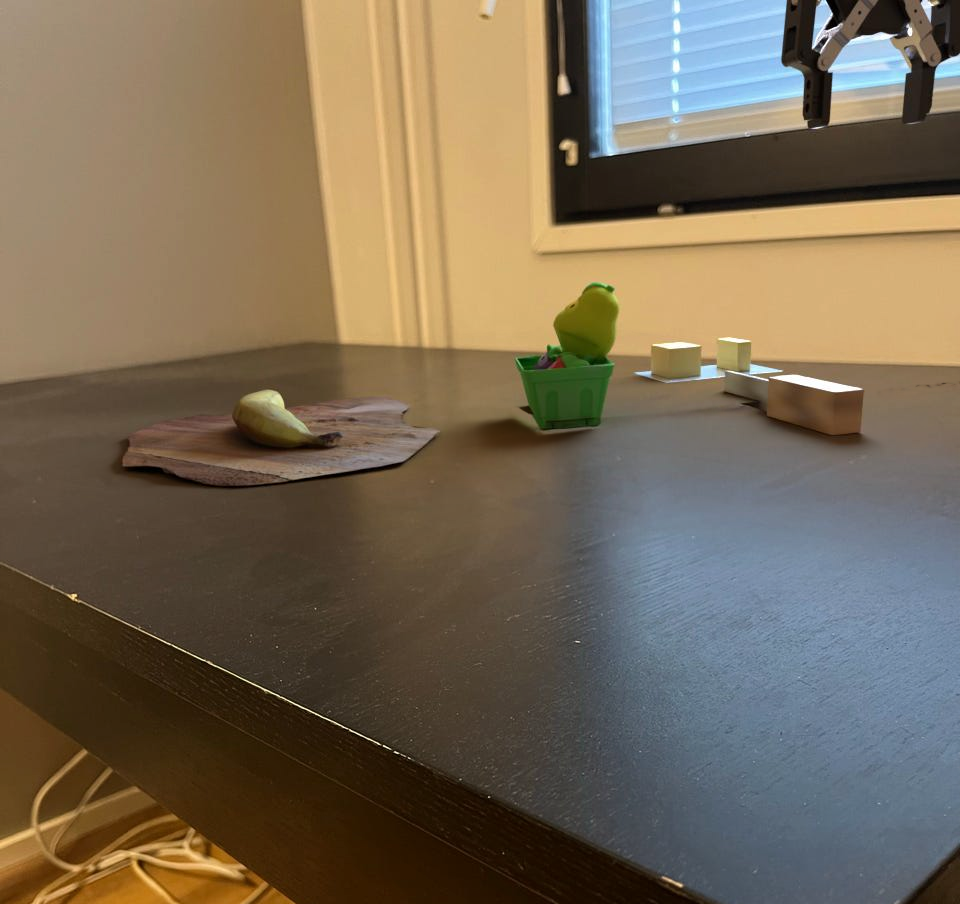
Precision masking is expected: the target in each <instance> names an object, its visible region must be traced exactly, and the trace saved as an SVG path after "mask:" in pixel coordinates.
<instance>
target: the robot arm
mask: <svg viewBox="0 0 960 904" xmlns="http://www.w3.org/2000/svg"><path fill="white" fill-rule="evenodd" d="M824 1H825V3H826V5H827V7H828V9H829V11H830V13H831V14H830V16H829V18H828V19H827V21H826V22H825V23H824V25H823V27H822V28H821V30H820V31H819V33H818V34H817V36H816V38H815V40H814V32H815V23H816V12H817V7H819V6H820V5H821V2H822V0H786V2H785V3H786V5H785V15H784V26H783V35H782V36H783V37H782V46H781V47H782V48H781V58H780V61H781V65H782V66H783V67H784V68H792V69H795V70H797V71H799V72H801V74H802V76H803V96H802V99H803V100H802V117H803V121H804V122H806V124H807V128H808V130H813V129H814V130H815V129H817V130H818V129H823V128H827V127H828V126H829V124H830V122H831V110H832V109H831V106H832V94H833V93H832V91H833V77H834V72H833V71H831V72H830V71H829V70H830V69H831V68H832V65H833V64H834V63H835V61H836V59H837V58H838V56H839V55H840V54H841V51H842V50H843V48H845V46H847V45H848V44H849V43H850V42H853V41H854V42H855V41H860V40H863V39H866V38H868V39H870V40H874V41H879V40H880V41H882V40H883V41H884V40H886V39H890V42H891V44H892V46H893V47H894V48H895V49H896V50H898V51H900V53H901V55H902V57H903V59H904V61H905V63H906V64H907V66H908V68H909V71H910V72H906V73H905V78H904V79H905V80H904V91H903V102H902V111H901V112H902V113H901V122H902V124H903V125H913V124H920V123H923V122H924V121H925V120H926V118H927V114H930V112H931V109H932V106H933V97H934V89H935V77H936V70H937V68H938V67H939V65H940V64H941V63H943V62H945V61H947V60H950V59H951V58H954V57H957V56H959V55H960V0H926V2H927V3H928V4H929V5H930V19H929V17H928V15H927V13H926V11H925V9H924V7H923V5H922V3H923V1H924V0H824ZM907 26H909V27H907ZM813 41H814V42H815V43H814V44H813Z"/></svg>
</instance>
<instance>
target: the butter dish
mask: <svg viewBox="0 0 960 904" xmlns="http://www.w3.org/2000/svg"><path fill="white" fill-rule="evenodd" d="M725 371H728V370H727V369H723V368H718V367H717V364H711V365H701V376H693V377H683V378H672V379H669V378H665V377H662V376H658V375H655V374H651V370H648V371H637V372H633V374H635V375H637V376H642V377H644V378H647V379H648V378H649V379H651V380H656V381H658V382H663V383H665V384H667V383H668V384H669V383H677V382H678V383H679V382H688V381H697V380H708V379H719V378H725ZM729 371H731V370H729ZM733 372H736V371H733ZM781 372H783V370H781V369H777V368H772V367H766V366H763V365H758V364H752V363H751V365H750V371H743V372H737V373H742V374H746V375H750V376H751V375H761V374H768V373H770V374H771V373H781Z"/></svg>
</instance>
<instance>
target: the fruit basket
mask: <svg viewBox="0 0 960 904" xmlns="http://www.w3.org/2000/svg"><path fill="white" fill-rule="evenodd" d="M614 291H615V287H614V286H612V285H610V284H608V285H607V284H605V283H603V282H600V281H594V282H591V283H590V284H588V285H587V286H586V287H585V288H584V289H583V290H582V292H581V295H580V296H579V297H578V298H577V299H576V300H574V301H572V302H571V303H569V304H568V305H566V306H565V307H564V309H563V310H561V311H560V312H559V313H557V315H556V316H555V319H554V320H553V324H552V326H553V329H554V332H555V334H556V337H557V339H558V342H559V345H552V344H551V343H549V344H547V345H546V352H545V353H543V354H537V355H528V356H520V357H515V358H514V362H515V365H516V369H517V370H518V372H519V374H520V377H521V381H522V385H523V388H524V391H525V397H526V400H527V404H528V406H529V408H530V410H531V412H532V413H533V414H532V418H533V419H534V421H535V423H536V424H537V426H538V428H539V429H540V430H548V429H561V428H576V427H586V426H599V425H600V424H601V420H602V415H603V412H604V411H603V410H604V407H605V401H606V398H607V392H608V388H609V384H610V379H611V377H612V376H613V373H614V368H615V363H614V362H612V361H611V360H610V359H609V358H607V356H608V355H609V353H610V352H611V350H612V349H613V347H614V345H615V342H616V340H617V339H616V338H617V326H618V325H617V324H618V323H617V322H618V318H619V314H620V309H621V306H620V303H619V301H618V298H617V297H616V295H615V294H614ZM552 421H553V422H552ZM554 421H555V422H554ZM556 421H557V422H556Z"/></svg>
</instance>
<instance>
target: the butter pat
mask: <svg viewBox="0 0 960 904" xmlns="http://www.w3.org/2000/svg"><path fill="white" fill-rule="evenodd" d="M716 343H717V344H716V365H717V367H718V368H723V369H727V370H731V371H736V372H743V371H750V365H751V364H752V360H751V359H752V341H751V340H746V339H740V338H734V337H721V338H717V339H716Z"/></svg>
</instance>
